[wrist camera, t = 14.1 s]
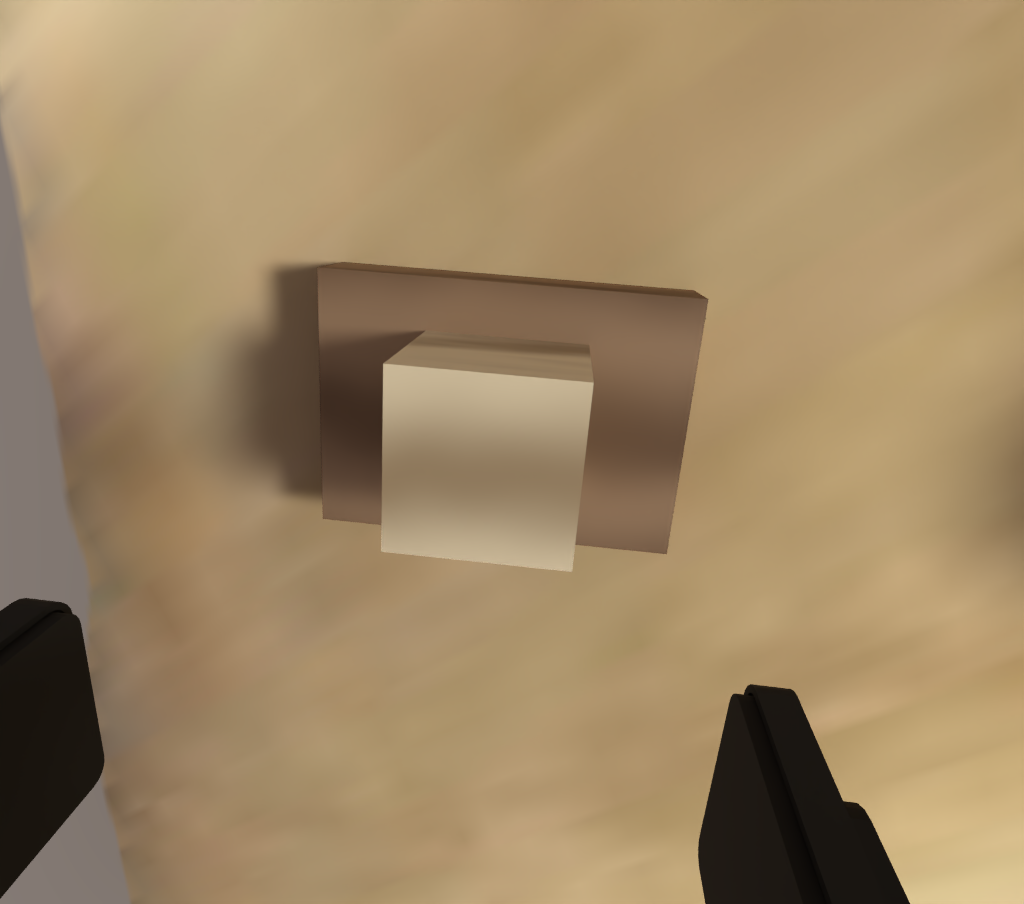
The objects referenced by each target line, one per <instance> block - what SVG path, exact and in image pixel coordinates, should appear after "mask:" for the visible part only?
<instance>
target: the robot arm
mask: <svg viewBox="0 0 1024 904" xmlns="http://www.w3.org/2000/svg"><path fill="white" fill-rule="evenodd" d="M103 766H104V752H103V747H102V741H101V735H100V730H99V724H98V718H97V713H96V707H95V701H94V696H93V690H92V684H91V679H90V673H89V667H88V662H87V656H86V650H85V645H84V639H83V633H82V628H81V623H80V620H79V618H78V617H77V616H76V615H73V614H72V611H71V609H70V607H69V606H68V605H67V604H64V603H62V602H54V601H46V600H38V599H29V598H24V599H19V600H17V601H15V602H13V603H11V604H10V605H9V606H7V607H6V608H4V609H3V610H1V611H0V898H1V897H2V896H3V895H4V894H5V892H6V891H7V890H8V889H9V887H10V886H11V885H12V884H13V883H14V882H15V880H16V879H17V878H18V877H19V876H20V874H21V873H22V872H23V871H24V870H25V868H26V867H27V866H28V865H29V864H30V862H31V861H32V860H33V859H34V858H35V856H36V855H37V854H38V853H39V851H40V850H41V849H42V848H43V847H44V846H45V844H46V843H47V842H48V841H49V840H50V839H51V837H52V836H53V835H54V834H55V833H56V831H57V830H58V829H59V828H60V827H61V825H62V824H63V823H64V822H65V821H66V819H67V818H68V817H69V816H70V814H71V813H72V812H73V811H74V810H75V809H76V807H77V806H78V805H79V804H80V803H81V801H82V800H83V799H84V798H85V797H86V796H87V794H88V793H89V792H90V791H91V790H92V788H93V787H94V785H95V784H96V783H97V781H98V780H99V778H100V776H101V773H102V770H103ZM698 858H699V869H700V875H701V880H702V886H703V892H704V898H705V903H706V904H910V903H909V901H908V898H907V896H906V894H905V892H904V890H903V888H902V886H901V883H900V881H899V879H898V877H897V875H896V873H895V871H894V868H893V866H892V864H891V862H890V860H889V858H888V856H887V854H886V851H885V849H884V847H883V845H882V843H881V841H880V839H879V836H878V834H877V832H876V830H875V828H874V826H873V824H872V821H871V820H870V818H869V816H868V815H867V813H866V811H865V810H864V809H863V808H862V807H861V806H860V805H859V804H858V803H853V802H845V801H843V800H842V798H841V795H840V793H839V791H838V789H837V786H836V784H835V782H834V779H833V777H832V775H831V772H830V770H829V768H828V766H827V763H826V761H825V759H824V756H823V754H822V752H821V749H820V747H819V745H818V743H817V740H816V738H815V736H814V733H813V731H812V729H811V727H810V724H809V722H808V720H807V717H806V715H805V713H804V710H803V708H802V706H801V704H800V701H799V699H798V697H797V695H796V693H795V692H794V691H793V690H791V689H785V688H777V687H768V686H760V685H752V684H751V685H748V686H747V688H746V690H745V693H744V695H742V694H733V695H732V697H731V699H730V702H729V707H728V711H727V716H726V720H725V725H724V729H723V734H722V738H721V743H720V747H719V752H718V756H717V761H716V765H715V770H714V774H713V779H712V783H711V788H710V792H709V797H708V801H707V806H706V810H705V815H704V819H703V824H702V828H701V833H700V838H699V847H698Z"/></svg>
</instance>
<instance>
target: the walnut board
mask: <svg viewBox="0 0 1024 904" xmlns="http://www.w3.org/2000/svg"><path fill="white" fill-rule="evenodd" d="M317 278H318V323H319V369H320V414H321V459H322V505H323V519H330V520H340V521H350V522H359V523H369V524H379V525H381V523H382V430H383V363H385V362H386V361H387V360H389V359H390V358H391V357H392V356H394V355H395V354H396V353H398V352H399V351H400V350H401V349H403V348H404V347H405V346H407V345H408V344H409V343H411V342H412V341H413V340H414V339H416V338H417V337H418V336H420V335H421V334H422V333H424V332H425V331H436V332H447V333H459V334H470V335H481V336H493V337H504V338H516V339H527V340H538V341H550V342H561V343H573V344H584V345H589V348H590V356H591V364H592V372H593V380H594V385H593V394H592V403H591V411H590V420H589V429H588V437H587V446H586V455H585V464H584V472H583V481H582V490H581V498H580V507H579V516H578V524H577V533H576V542H575V545H583V546H593V547H603V548H612V549H622V550H632V551H642V552H651V553H661V554H667V549H668V543H669V536H670V530H671V524H672V518H673V512H674V506H675V500H676V494H677V487H678V481H679V475H680V469H681V463H682V457H683V451H684V445H685V439H686V432H687V426H688V420H689V414H690V408H691V402H692V396H693V390H694V383H695V377H696V371H697V365H698V359H699V353H700V347H701V341H702V335H703V328H704V322H705V316H706V310H707V304H708V299H707V298H705V297H704V296H702V295H700V294H699V293H697V292H696V291H693V290H681V289H668V288H656V287H644V286H631V285H619V284H607V283H594V282H582V281H570V280H557V279H545V278H533V277H520V276H508V275H495V274H483V273H471V272H458V271H446V270H434V269H421V268H409V267H397V266H384V265H372V264H360V263H347V262H342V263H337V264H332V265H327V266H322V267H317Z"/></svg>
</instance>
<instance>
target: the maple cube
mask: <svg viewBox="0 0 1024 904" xmlns="http://www.w3.org/2000/svg"><path fill="white" fill-rule="evenodd" d="M593 385H594V380H593V372H592V364H591V356H590V348H589V345H584V344H573V343H561V342H550V341H538V340H527V339H516V338H504V337H493V336H481V335H470V334H459V333H447V332H436V331H425V332H424V333H422V334H421V335H420V336H418V337H417V338H416V339H414V340H413V341H412V342H411V343H409V344H408V345H407V346H405V347H404V348H403V349H401V350H400V351H399V352H398V353H396V354H395V355H394V356H392V357H391V358H390V359H389V360H387V361H386V362H385V363H383V430H382V523H381V552H390V553H399V554H408V555H418V556H427V557H437V558H446V559H455V560H465V561H474V562H484V563H493V564H502V565H512V566H521V567H531V568H540V569H549V570H559V571H568V572H572V568H573V559H574V551H575V542H576V533H577V524H578V516H579V507H580V498H581V490H582V481H583V472H584V464H585V455H586V446H587V437H588V429H589V420H590V411H591V403H592V394H593Z"/></svg>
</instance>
